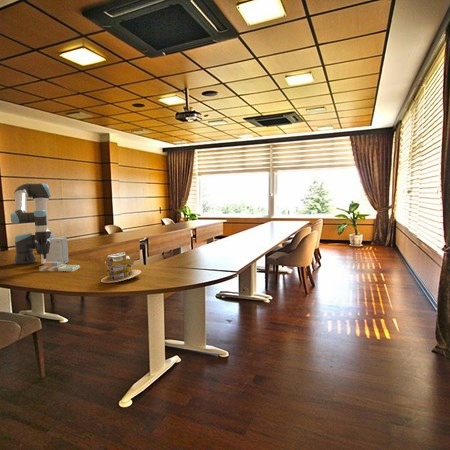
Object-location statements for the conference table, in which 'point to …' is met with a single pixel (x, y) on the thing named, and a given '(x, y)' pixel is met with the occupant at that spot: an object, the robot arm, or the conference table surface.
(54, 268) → the board
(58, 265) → the slate tile
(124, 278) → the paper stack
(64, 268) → the tray
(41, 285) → the conference table surface
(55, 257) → the hard drive box
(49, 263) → the terracotta tile
